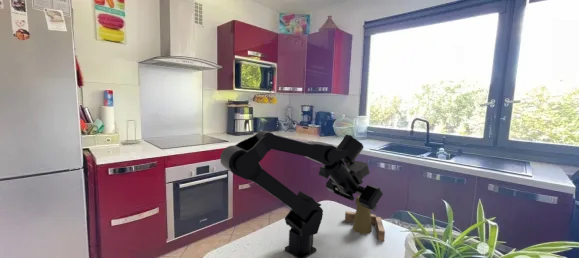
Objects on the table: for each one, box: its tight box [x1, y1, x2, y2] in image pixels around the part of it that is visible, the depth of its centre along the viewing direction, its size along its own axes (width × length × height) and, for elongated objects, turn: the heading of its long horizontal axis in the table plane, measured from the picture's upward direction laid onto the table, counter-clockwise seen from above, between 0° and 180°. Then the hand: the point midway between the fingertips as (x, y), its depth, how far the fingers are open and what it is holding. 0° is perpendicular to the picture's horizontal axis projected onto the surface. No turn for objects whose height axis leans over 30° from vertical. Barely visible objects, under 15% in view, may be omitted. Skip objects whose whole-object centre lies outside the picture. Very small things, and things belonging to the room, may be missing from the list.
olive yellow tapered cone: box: [352, 195, 373, 235], centre depth 84 cm, size 6×6×11 cm
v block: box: [344, 210, 386, 242], centre depth 87 cm, size 8×16×3 cm, turn 33°
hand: (363, 204), depth 84 cm, fingers open, 9 cm apart
